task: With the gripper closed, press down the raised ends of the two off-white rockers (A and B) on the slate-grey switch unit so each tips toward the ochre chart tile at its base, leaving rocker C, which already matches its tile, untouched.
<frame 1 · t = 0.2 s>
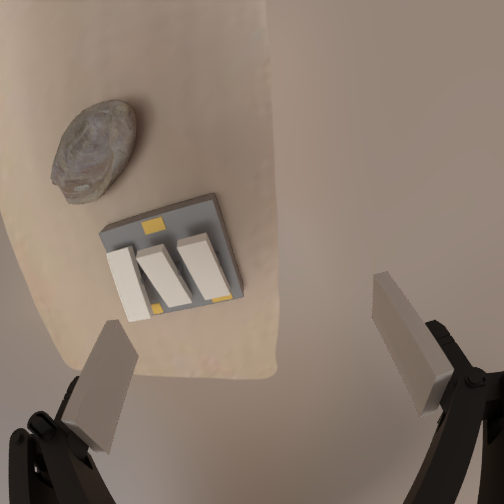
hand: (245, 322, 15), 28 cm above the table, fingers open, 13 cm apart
rocker b: (166, 277, 39), point 6 cm above the table, hinge at 16.0°
seashell: (102, 150, 37), on the table
rocker a: (130, 284, 39), point 6 cm above the table, hinge at -16.0°
switch unit: (174, 256, 44), on the table
rocker c: (205, 268, 38), point 6 cm above the table, hinge at 16.0°
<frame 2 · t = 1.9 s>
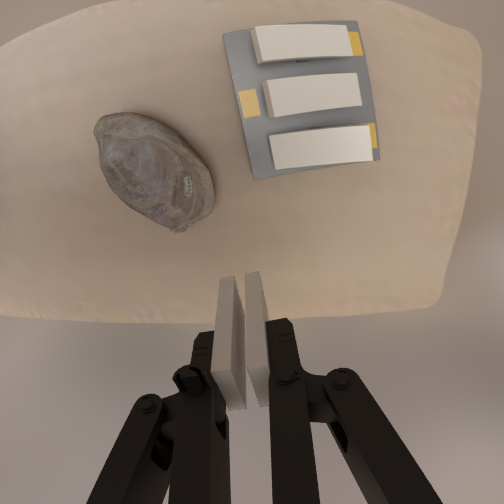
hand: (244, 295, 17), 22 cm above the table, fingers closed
rocker b: (314, 92, 27), point 6 cm above the table, hinge at 16.0°
seashell: (163, 166, 35), on the table
rocker a: (321, 145, 29), point 6 cm above the table, hinge at -16.0°
switch unit: (302, 95, 32), on the table
rocker c: (303, 42, 24), point 6 cm above the table, hinge at 16.0°
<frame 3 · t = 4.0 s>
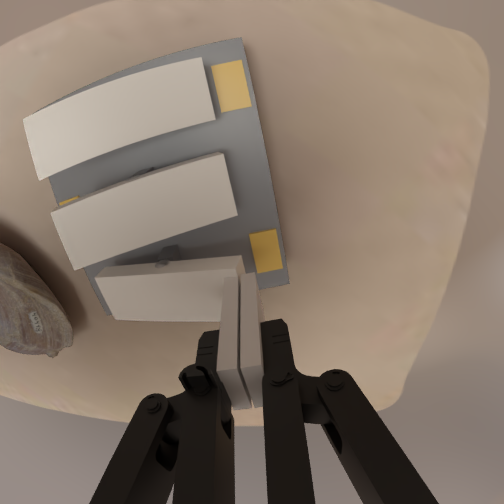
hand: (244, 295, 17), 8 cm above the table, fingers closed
rocker b: (142, 208, 16), point 6 cm above the table, hinge at 16.0°
seashell: (26, 279, 25), on the table
rocker a: (169, 291, 19), point 6 cm above the table, hinge at -13.4°, touching gripper
switch unit: (163, 183, 21), on the table
rocker c: (115, 115, 14), point 6 cm above the table, hinge at 16.0°
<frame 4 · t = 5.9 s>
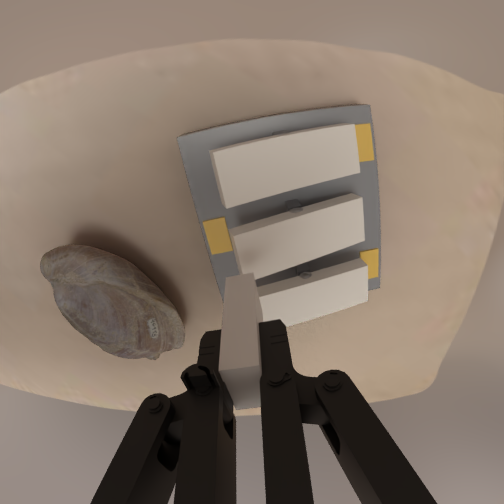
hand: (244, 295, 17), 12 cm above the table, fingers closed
rocker b: (301, 234, 22), point 6 cm above the table, hinge at 16.0°
seashell: (127, 286, 31), on the table
rocker a: (309, 295, 24), point 6 cm above the table, hinge at 8.5°
switch unit: (289, 208, 27), on the table
rocker c: (289, 160, 20), point 6 cm above the table, hinge at 16.0°
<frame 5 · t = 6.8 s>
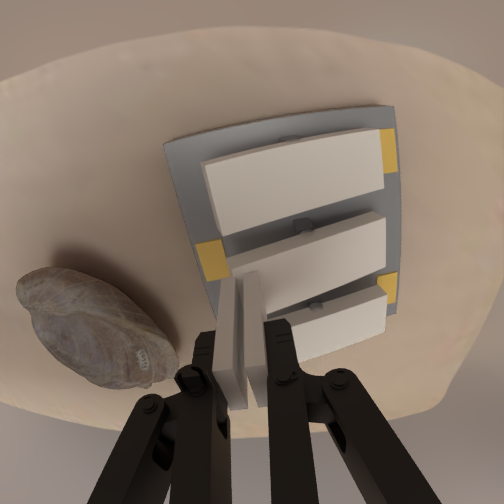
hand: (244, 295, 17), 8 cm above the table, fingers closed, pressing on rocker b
rocker b: (313, 262, 18), point 6 cm above the table, hinge at 15.4°, touching gripper
seashell: (114, 310, 27), on the table
rocker a: (319, 329, 21), point 6 cm above the table, hinge at 8.9°
switch unit: (296, 226, 24), on the table
rocker c: (301, 173, 16), point 6 cm above the table, hinge at 16.0°
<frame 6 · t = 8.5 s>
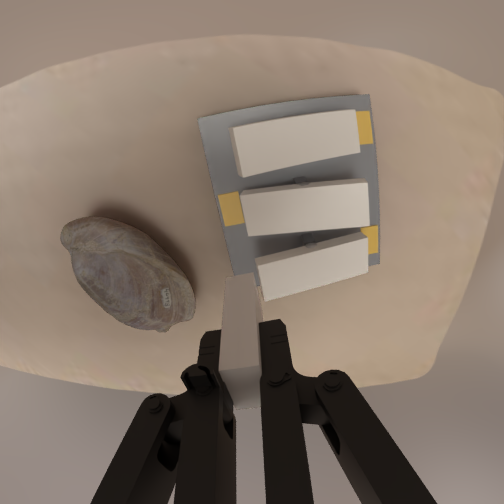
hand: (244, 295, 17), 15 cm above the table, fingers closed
rocker b: (306, 206, 24), point 6 cm above the table, hinge at -11.7°
seashell: (141, 261, 33), on the table
rocker a: (314, 265, 27), point 6 cm above the table, hinge at 9.0°
switch unit: (296, 187, 29), on the table
rocker c: (298, 138, 22), point 6 cm above the table, hinge at 16.0°
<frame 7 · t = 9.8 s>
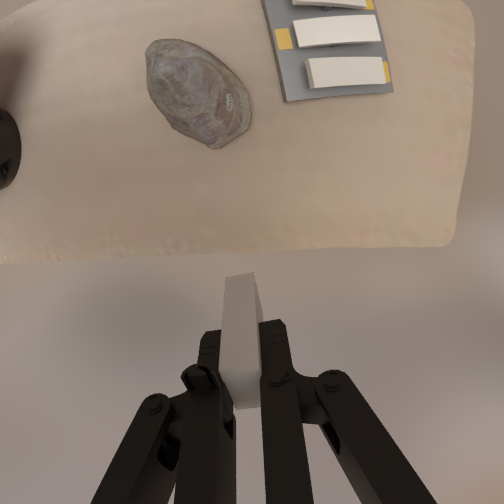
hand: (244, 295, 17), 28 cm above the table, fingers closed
rocker b: (337, 30, 28), point 6 cm above the table, hinge at -12.3°
seashell: (202, 93, 37), on the table
rocker a: (347, 71, 30), point 6 cm above the table, hinge at 9.0°
switch unit: (325, 39, 33), on the table
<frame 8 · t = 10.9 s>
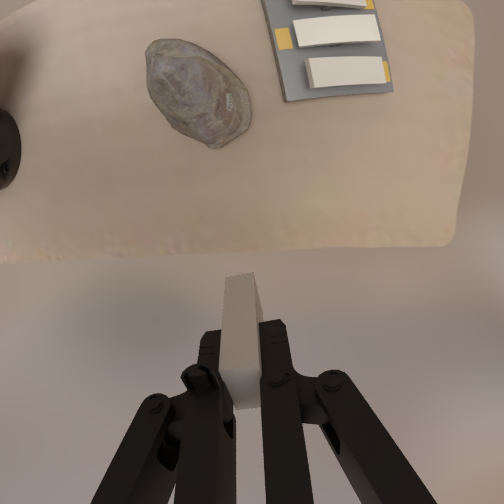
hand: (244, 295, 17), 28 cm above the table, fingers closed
rocker b: (337, 30, 28), point 6 cm above the table, hinge at -12.3°
seashell: (202, 93, 37), on the table
rocker a: (346, 71, 30), point 6 cm above the table, hinge at 9.0°
switch unit: (325, 39, 33), on the table
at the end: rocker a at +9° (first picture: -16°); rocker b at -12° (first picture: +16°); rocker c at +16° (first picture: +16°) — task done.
